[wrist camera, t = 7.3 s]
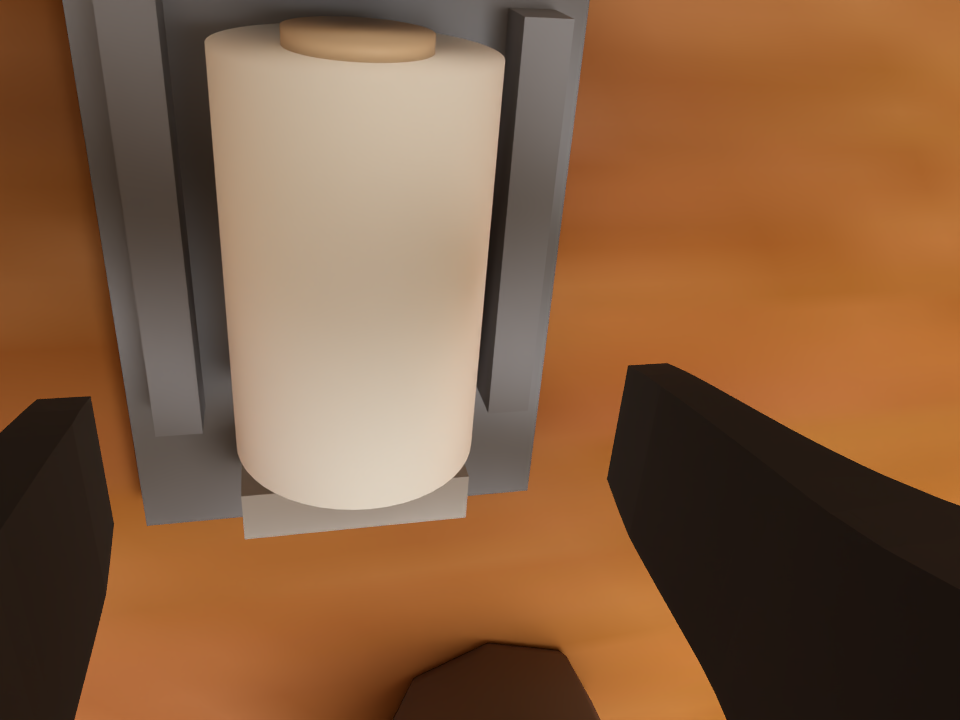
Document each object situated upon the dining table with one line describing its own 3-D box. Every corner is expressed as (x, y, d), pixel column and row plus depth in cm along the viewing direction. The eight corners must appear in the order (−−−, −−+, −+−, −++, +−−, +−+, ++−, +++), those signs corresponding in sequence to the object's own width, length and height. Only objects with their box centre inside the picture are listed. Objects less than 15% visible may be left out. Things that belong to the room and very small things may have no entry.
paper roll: (444, 380, 21) (495, 509, 17) (237, 392, 20) (236, 534, 16) (469, 13, 17) (544, 63, 13) (207, -1, 16) (196, 51, 11)
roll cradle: (516, 464, 24) (558, 559, 21) (151, 495, 22) (134, 608, 19) (591, -188, 17) (678, -200, 13) (37, -247, 14) (-29, -280, 11)
